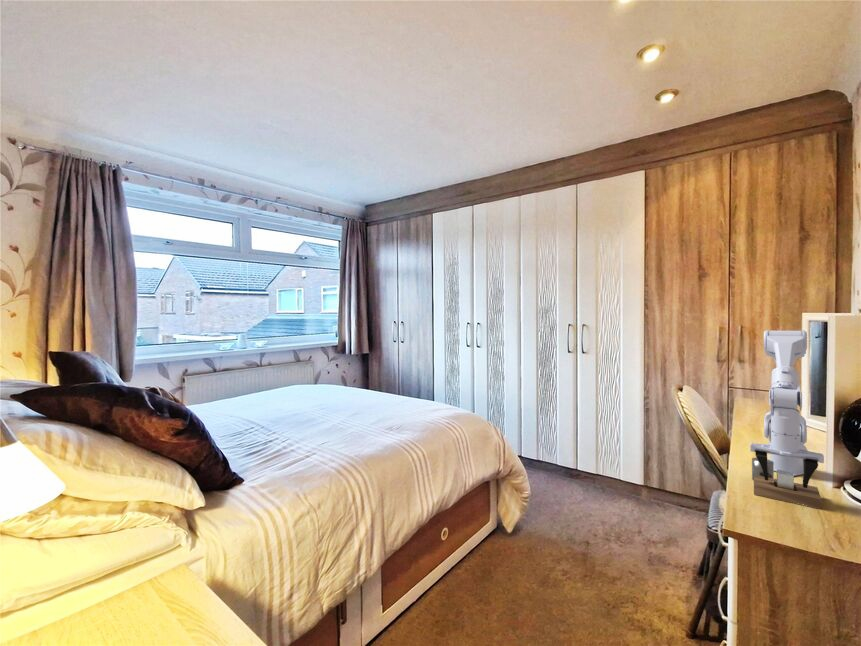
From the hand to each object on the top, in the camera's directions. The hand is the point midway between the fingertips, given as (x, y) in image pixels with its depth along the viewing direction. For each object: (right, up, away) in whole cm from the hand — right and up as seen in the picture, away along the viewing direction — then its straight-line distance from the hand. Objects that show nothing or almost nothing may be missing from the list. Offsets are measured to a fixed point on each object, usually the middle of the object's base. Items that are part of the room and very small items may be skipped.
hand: (785, 482), depth 104 cm
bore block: (0, -3, 0) cm, 3 cm away
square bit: (0, -3, 0) cm, 3 cm away
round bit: (+2, -3, +9) cm, 10 cm away
